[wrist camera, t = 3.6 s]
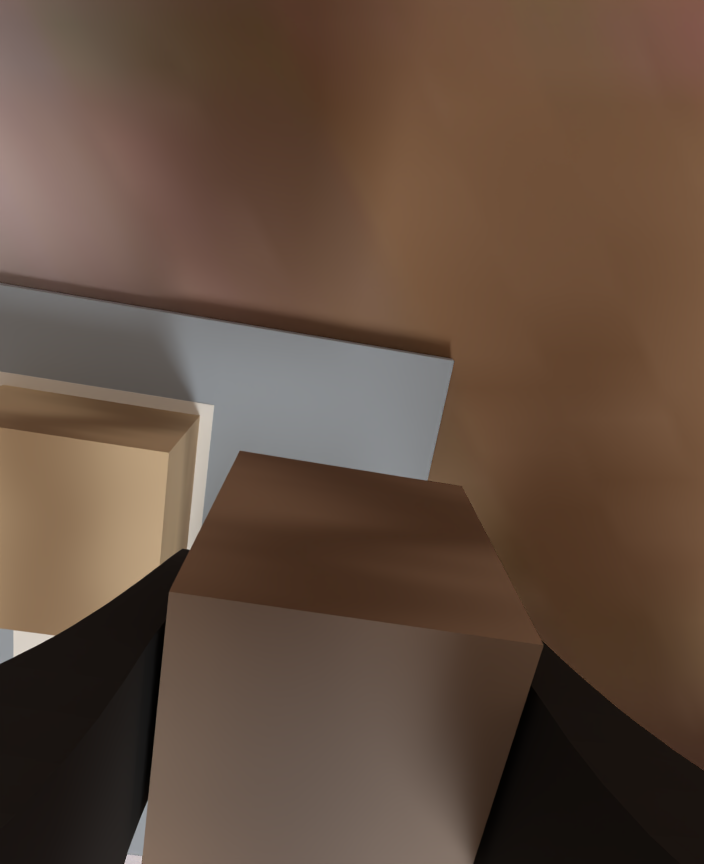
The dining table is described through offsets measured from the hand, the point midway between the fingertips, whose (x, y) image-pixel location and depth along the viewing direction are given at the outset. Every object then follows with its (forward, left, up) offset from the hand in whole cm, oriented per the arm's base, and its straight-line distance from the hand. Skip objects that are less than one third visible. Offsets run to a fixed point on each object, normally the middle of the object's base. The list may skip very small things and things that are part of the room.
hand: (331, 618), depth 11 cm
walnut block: (0, 0, -2) cm, 2 cm away
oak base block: (+7, +2, -8) cm, 12 cm away
